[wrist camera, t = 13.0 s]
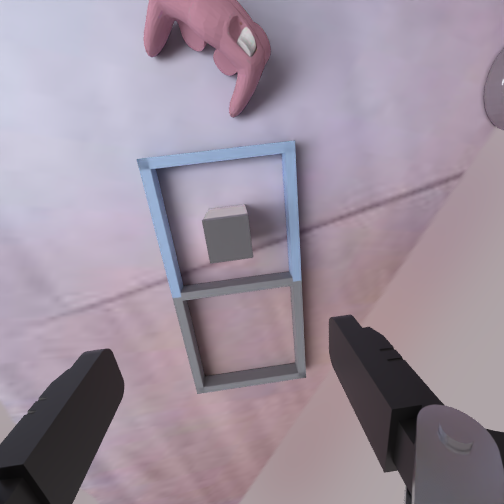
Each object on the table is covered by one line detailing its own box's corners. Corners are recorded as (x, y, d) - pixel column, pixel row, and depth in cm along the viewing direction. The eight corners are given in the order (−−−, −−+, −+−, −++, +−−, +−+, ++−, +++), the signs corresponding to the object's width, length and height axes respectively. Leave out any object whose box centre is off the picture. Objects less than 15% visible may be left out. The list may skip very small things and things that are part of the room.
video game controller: (257, 91, 25) (288, 26, 18) (235, 125, 24) (261, 70, 17) (167, 20, 22) (165, -86, 16) (139, 55, 21) (125, -41, 15)
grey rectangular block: (244, 204, 27) (247, 215, 21) (248, 238, 28) (253, 257, 23) (208, 209, 27) (202, 221, 21) (214, 243, 28) (210, 263, 22)
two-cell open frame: (290, 142, 25) (294, 140, 23) (302, 367, 35) (306, 377, 34) (143, 159, 24) (136, 159, 23) (199, 382, 35) (197, 393, 33)
